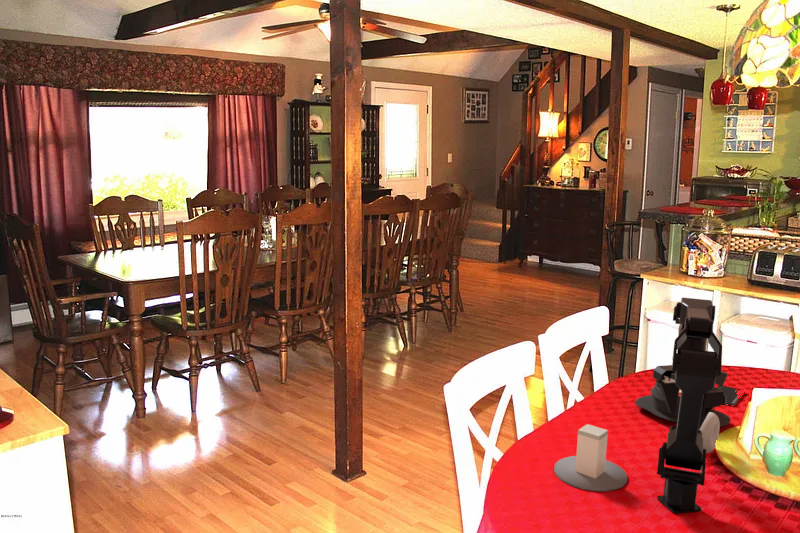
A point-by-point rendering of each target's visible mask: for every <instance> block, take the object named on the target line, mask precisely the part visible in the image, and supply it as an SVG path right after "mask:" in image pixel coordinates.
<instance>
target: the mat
mask: <svg viewBox="0 0 800 533" xmlns="http://www.w3.org/2000/svg"><path fill="white" fill-rule="evenodd" d="M575 467H576V455H573V456H566V457H563V458H560V459H559V460H557V461H556V462H555V464H554V469H553V471H554V474H555V475H556V477H557V478H558V479H559V480H561V481H562V482H564V484H566V485H569V486H571V487H574V488H576V489H581V490H583V491H591V492H611V491H615V490H619V489H621V488H623V487H624V486H625V485H626V484H627V481H628V474H627V472H626V470H624V469H623V468H622V467H621V466H619V465H618V464H616V463H614V462H612V461H610V460H607V459H606V461H605V472H604V473H602V474H601V475H600V476H599V477H597V478H596V479H595V478H593V477H590V476H587V475H584V474H581V473H578V472H575Z"/></svg>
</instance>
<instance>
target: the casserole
mask: <svg viewBox="0 0 800 533" xmlns="http://www.w3.org/2000/svg"><path fill="white" fill-rule="evenodd" d="M680 397H681V390H679V395H678V401H677V406H676V410H675V413H670V412H669V409H668V407H667V404H666V402H665V399H664V397H663V394H662V392H661V390H660V388H659V385H658V384H657V383H656V382H655V383H654V386H653V387H652V388H651V389H650V394H649V395H643V396H641V397H639V398H637V399H636V400H635V401H634V404H635V405H636V406H637V407H638V408H641V409H643V410H645V411H647V412H649V413H651V414H652V415H654V416H656V417H658V418H661V419H664V420H666V421H668V422H671V423H676V424H677V420H678V413H679V405H680ZM710 412H712V413H714V414H716V415H717V416H718V418H719V422H720V428H721V427H725V426H727V425H729V424H730V423H731V421H732V419H731V418H730V416H729V415H727V414H726V413H724V412H721V411H718V410H716V409H714V408H713V409H711V411H710Z"/></svg>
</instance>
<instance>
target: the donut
mask: <svg viewBox="0 0 800 533" xmlns="http://www.w3.org/2000/svg"><path fill="white" fill-rule="evenodd" d="M720 428H721V427H720V422H719V418H718V416H717V415H716V414H714V413H712V412H709V413H708V415H707V417H706V419H705V420H704V422H703V424H702V426H701V428H700V429H699V430H701V432H702V438H703V449H706V454H710V453H712V452H713V451H714V450H715V448H716V446H715V443H716V440H717V439H718V440H719V437H720V436H719V435H720ZM718 440H717V441H718Z"/></svg>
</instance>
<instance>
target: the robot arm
mask: <svg viewBox="0 0 800 533" xmlns="http://www.w3.org/2000/svg"><path fill="white" fill-rule="evenodd" d="M672 316H673V317H672V321H673V322H675V323H674V324H675V325H679V326H678V329H677V330H678V332H677V333H678V335H677V337H676V338H675V339H674V343H673V351H672V363H671V364H669V365H657V366H656V367H655V368H654V369H653V372H652V373H653V374H652V378H653V379H655V384H656V383H657V384H658V385H659V388H660V390H661V392H662V394H663V397H664V399H665V402H666V404H667V407H668V409H669V412H670V413H675V410H676V406H677V401H678V395H679V390H681V397H680V405H679V413H678V420H677V423H676V425H671V426H670V427H669V431H668V432H667V437H666V441H665V442H664V441H663V443H662V445H661V446H660V447H659V448H658V456H657V458H658V461H657V470H656V474H657V475H659V476H660V479H664V486H663V494H662V495H657V500H659V502H660V503H662V505H664V506H665V507H666V508H667V509H668V510H669V511H670V512H672V513H673V514H682V513H683V514H684V513H691V512H701V511H702V507H701V506H700V505H698V504H697V503H696V502H697V501H696V500H697V491H698V485H700V486H705V478H706V463H707V462H706V460H707V458H706V456H707V453H706V449H703V438H702V432H701V430H699V429H700V428H701V426H702V424H703V422H704V420H705V419H706V417H707V415H708V413H709V412H710V411H711V409H714V408H718V407H721V406H726V405H725V404H726V394H725V393H724V392H723V391H721V390H719V389H717V388H716V385H717V386H721V387H723V386H725V385H724V384H725V382H726V380H727V377H728V375H729V374H728V373H727V372H725V371H723V370H722V364H723V363H722V362H723V359H722V358H723V345H722V343H721V341H720V340H719V339H718V337H717V336H716V334H715V333H714V322H715V316H716V305H713V301H712V300H711V299H703V298H702V299H700V298H694V297H693V298H691V297H681V300H680V301H677V303H676V305H675V306H674V308H673V314H672ZM707 342H708V344H709V346H710V347H711V349H712V350H713V351H711V350H707ZM665 465H666V466H665ZM667 466H669V467H667ZM675 467H676V468H675ZM678 468H679V469H678ZM681 468H682V469H681ZM686 469H687V470H686ZM691 470H692V471H691ZM699 471H700V472H699Z"/></svg>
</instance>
